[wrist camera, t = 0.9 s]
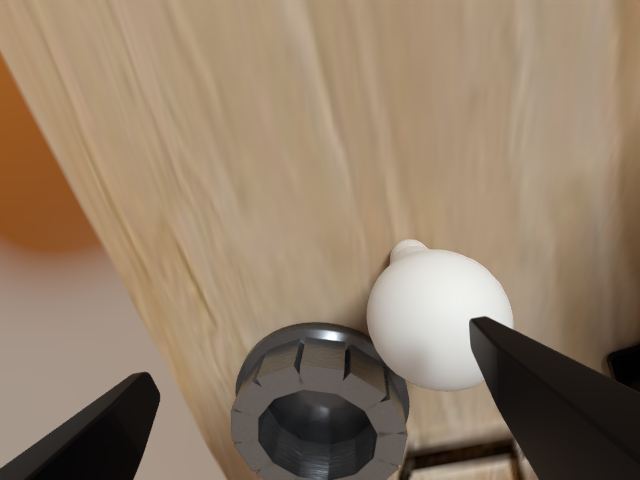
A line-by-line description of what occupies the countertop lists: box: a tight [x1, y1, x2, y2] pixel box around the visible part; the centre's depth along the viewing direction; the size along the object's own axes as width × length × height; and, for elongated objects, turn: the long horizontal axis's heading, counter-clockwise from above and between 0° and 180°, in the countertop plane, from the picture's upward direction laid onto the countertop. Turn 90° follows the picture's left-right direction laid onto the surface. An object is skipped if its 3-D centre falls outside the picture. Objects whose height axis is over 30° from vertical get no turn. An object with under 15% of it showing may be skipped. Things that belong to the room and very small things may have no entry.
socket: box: [231, 322, 409, 480], centre depth 25 cm, size 14×14×4 cm
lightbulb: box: [367, 239, 514, 392], centre depth 17 cm, size 6×6×11 cm
